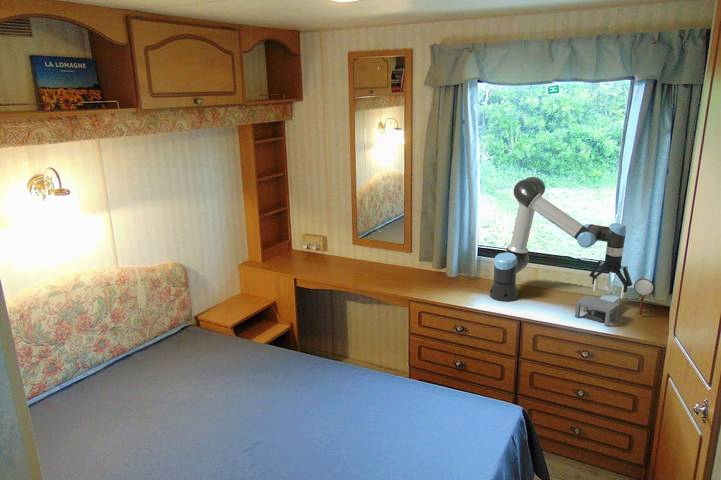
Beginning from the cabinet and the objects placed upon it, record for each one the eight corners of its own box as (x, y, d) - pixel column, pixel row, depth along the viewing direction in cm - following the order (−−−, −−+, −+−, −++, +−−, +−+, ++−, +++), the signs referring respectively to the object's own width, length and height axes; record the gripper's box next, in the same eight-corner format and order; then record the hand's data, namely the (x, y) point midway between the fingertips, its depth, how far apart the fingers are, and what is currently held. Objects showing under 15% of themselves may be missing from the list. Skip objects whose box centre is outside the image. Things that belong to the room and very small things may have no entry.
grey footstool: (574, 317, 262) (576, 301, 260) (584, 310, 270) (586, 295, 268) (607, 326, 252) (609, 310, 249) (617, 319, 259) (619, 303, 257)
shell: (605, 304, 277) (606, 293, 275) (618, 307, 272) (620, 297, 270) (595, 311, 269) (596, 300, 267) (609, 315, 264) (611, 303, 262)
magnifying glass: (649, 317, 260) (655, 279, 254) (649, 319, 258) (655, 280, 253) (630, 314, 264) (635, 276, 259) (629, 315, 263) (635, 277, 257)
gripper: (585, 250, 268) (580, 289, 274) (637, 262, 251) (631, 303, 257) (591, 247, 273) (586, 285, 279) (643, 258, 256) (636, 298, 262)
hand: (608, 294), depth 268 cm, fingers open, 13 cm apart
